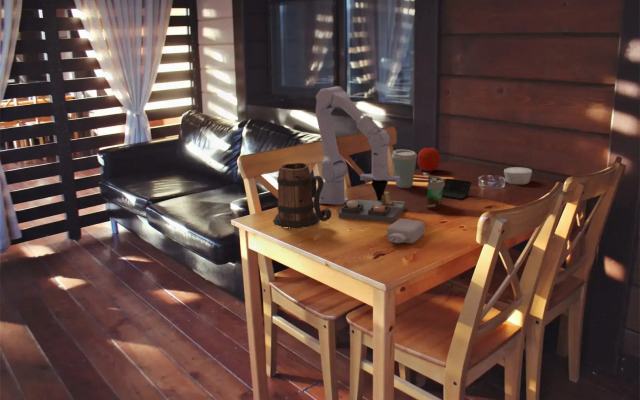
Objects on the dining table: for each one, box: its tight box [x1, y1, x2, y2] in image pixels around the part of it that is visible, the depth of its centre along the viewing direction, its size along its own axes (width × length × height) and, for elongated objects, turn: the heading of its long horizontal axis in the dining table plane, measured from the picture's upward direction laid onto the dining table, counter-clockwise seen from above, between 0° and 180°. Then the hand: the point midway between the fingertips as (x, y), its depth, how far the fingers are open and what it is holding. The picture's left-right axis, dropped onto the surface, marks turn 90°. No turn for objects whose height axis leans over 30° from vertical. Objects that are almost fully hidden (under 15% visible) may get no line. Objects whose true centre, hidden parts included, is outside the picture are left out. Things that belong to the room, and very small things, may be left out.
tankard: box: [272, 162, 332, 229], centre depth 204 cm, size 24×17×20 cm
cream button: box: [346, 199, 358, 209], centre depth 211 cm, size 4×4×2 cm
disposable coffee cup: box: [390, 149, 418, 189], centre depth 245 cm, size 11×11×15 cm
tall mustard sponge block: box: [382, 191, 394, 206], centre depth 216 cm, size 3×5×4 cm, turn 158°
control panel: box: [338, 198, 406, 224], centre depth 214 cm, size 20×17×4 cm
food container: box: [426, 175, 445, 210], centre depth 219 cm, size 12×6×10 cm, turn 168°
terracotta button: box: [374, 205, 385, 212], centre depth 207 cm, size 4×4×2 cm
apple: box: [417, 147, 441, 172], centre depth 270 cm, size 10×10×12 cm
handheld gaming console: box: [442, 178, 472, 201], centre depth 232 cm, size 12×7×10 cm
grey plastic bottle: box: [386, 218, 426, 244], centre depth 186 cm, size 5×9×15 cm
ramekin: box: [503, 166, 533, 186], centre depth 247 cm, size 11×11×5 cm
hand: (379, 199), depth 217 cm, fingers closed
